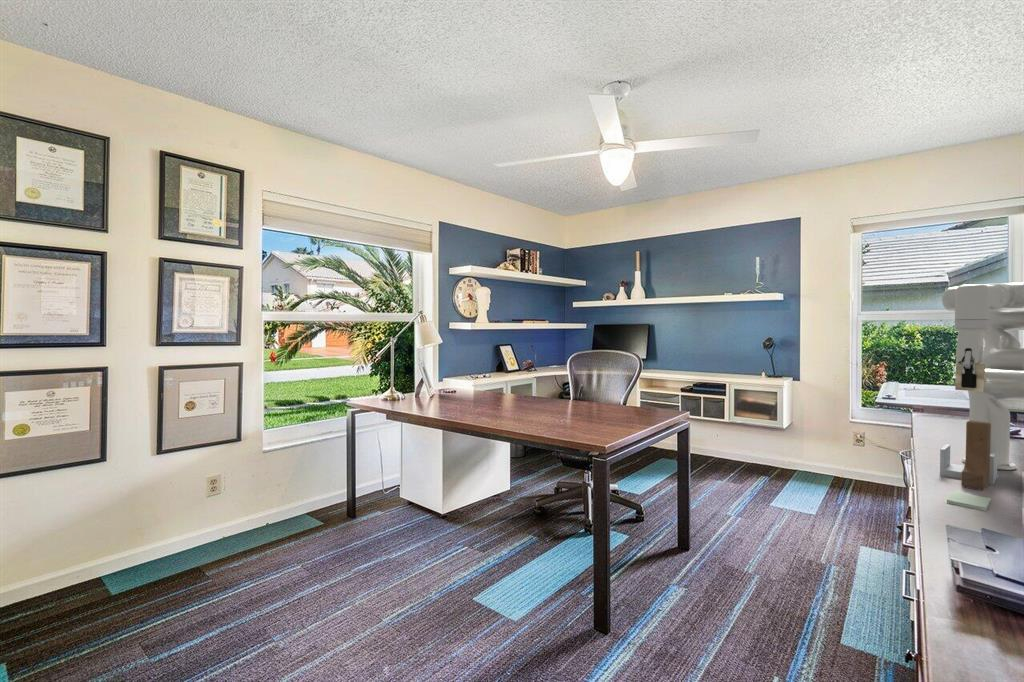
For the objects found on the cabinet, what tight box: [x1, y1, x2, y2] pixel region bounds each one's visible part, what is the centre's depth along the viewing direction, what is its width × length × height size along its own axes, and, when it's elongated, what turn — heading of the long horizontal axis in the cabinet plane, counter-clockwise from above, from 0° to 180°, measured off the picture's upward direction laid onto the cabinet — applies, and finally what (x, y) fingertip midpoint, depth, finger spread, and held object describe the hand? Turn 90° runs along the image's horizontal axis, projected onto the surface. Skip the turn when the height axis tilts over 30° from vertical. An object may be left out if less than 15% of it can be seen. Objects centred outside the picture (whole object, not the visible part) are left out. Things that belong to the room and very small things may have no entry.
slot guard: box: [939, 443, 998, 485], centre depth 146 cm, size 10×12×8 cm
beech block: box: [954, 362, 985, 392], centre depth 145 cm, size 4×6×8 cm, turn 40°
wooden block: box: [960, 419, 991, 491], centre depth 137 cm, size 9×4×18 cm, turn 127°
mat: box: [946, 491, 992, 512], centre depth 124 cm, size 10×7×1 cm
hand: (969, 386), depth 145 cm, fingers closed on beech block, 4 cm apart
